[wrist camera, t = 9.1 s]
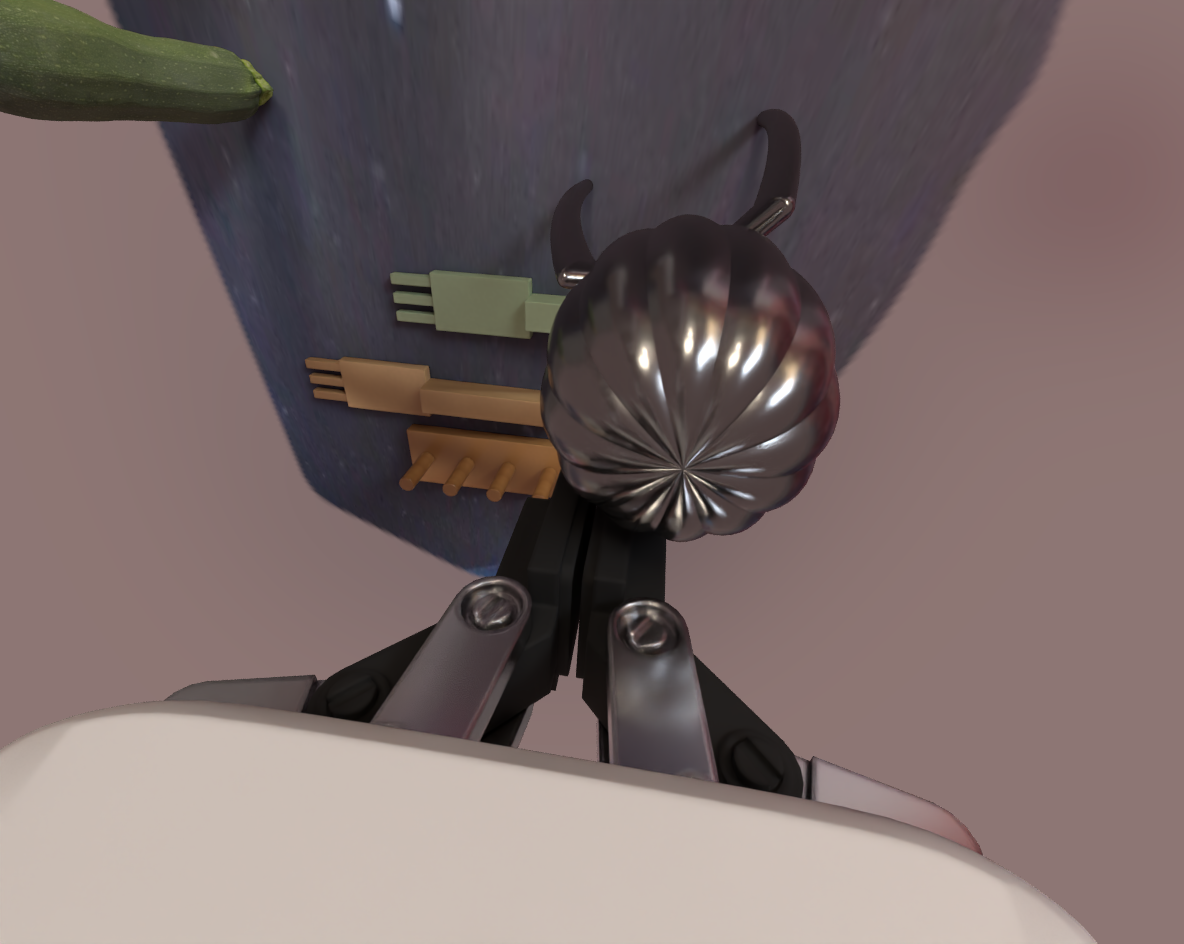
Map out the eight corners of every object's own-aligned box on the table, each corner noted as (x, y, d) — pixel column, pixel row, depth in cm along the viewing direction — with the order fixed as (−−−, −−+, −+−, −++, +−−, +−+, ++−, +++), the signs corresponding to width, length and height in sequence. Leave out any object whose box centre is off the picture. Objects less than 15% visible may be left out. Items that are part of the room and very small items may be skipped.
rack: (412, 423, 43) (382, 455, 39) (613, 446, 41) (605, 482, 37) (420, 473, 46) (393, 507, 41) (609, 496, 44) (601, 535, 40)
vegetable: (252, 141, 33) (-188, 142, 16) (198, 66, 31) (-358, -18, 14) (297, 100, 31) (-140, 56, 15) (244, 18, 29) (-324, -138, 13)
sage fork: (393, 266, 36) (377, 273, 34) (694, 291, 34) (695, 300, 32) (402, 323, 38) (388, 332, 36) (685, 349, 36) (685, 360, 34)
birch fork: (308, 352, 41) (290, 362, 39) (568, 380, 39) (562, 392, 37) (320, 398, 43) (304, 409, 41) (567, 427, 41) (561, 441, 39)
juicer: (703, 312, 34) (757, 758, 10) (579, 185, 31) (186, 353, 7) (831, 189, 30) (1608, 440, 5) (699, 27, 27) (928, -1585, 2)
